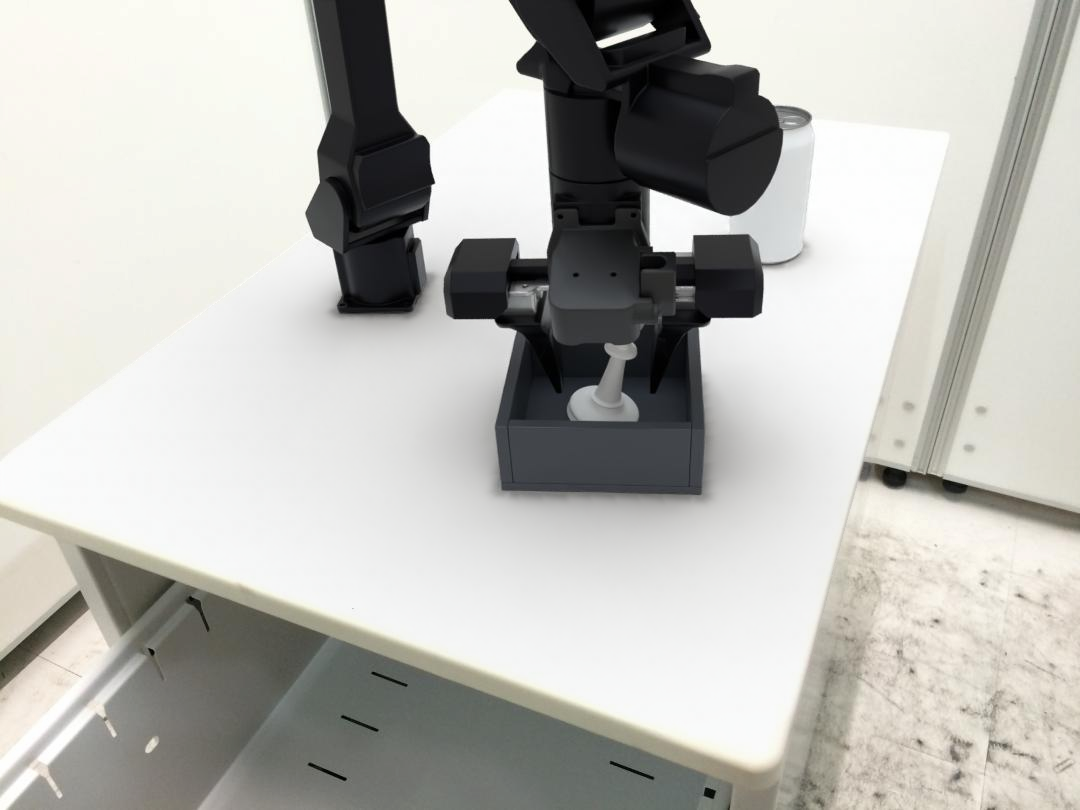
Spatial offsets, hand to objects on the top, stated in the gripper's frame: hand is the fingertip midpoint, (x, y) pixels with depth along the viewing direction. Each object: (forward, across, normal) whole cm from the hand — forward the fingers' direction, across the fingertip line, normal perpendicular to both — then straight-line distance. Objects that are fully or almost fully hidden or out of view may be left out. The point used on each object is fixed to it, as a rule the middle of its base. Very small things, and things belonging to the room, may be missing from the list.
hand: (606, 390), depth 62 cm
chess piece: (+2, 0, 0) cm, 3 cm away
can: (+4, +13, +27) cm, 30 cm away
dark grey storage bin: (+4, 0, 0) cm, 4 cm away
